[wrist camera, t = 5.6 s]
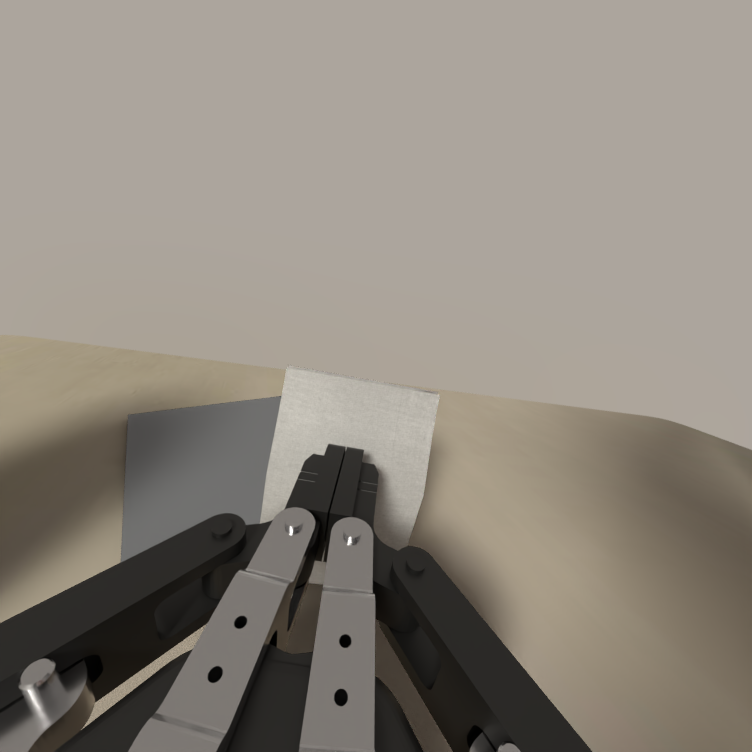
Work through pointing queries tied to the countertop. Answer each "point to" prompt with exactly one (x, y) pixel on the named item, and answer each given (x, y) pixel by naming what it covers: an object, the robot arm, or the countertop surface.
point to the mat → (194, 468)
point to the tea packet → (354, 443)
